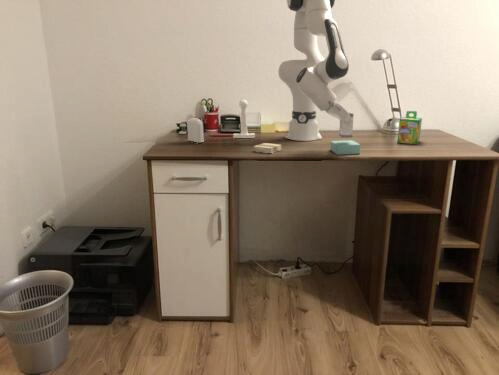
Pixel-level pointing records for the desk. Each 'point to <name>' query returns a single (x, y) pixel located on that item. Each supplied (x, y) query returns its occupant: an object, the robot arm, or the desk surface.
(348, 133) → the block
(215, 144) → the desk surface
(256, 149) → the stand
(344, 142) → the stand
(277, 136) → the desk surface
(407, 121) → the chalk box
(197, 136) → the grey arched block
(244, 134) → the joystick
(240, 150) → the desk surface
